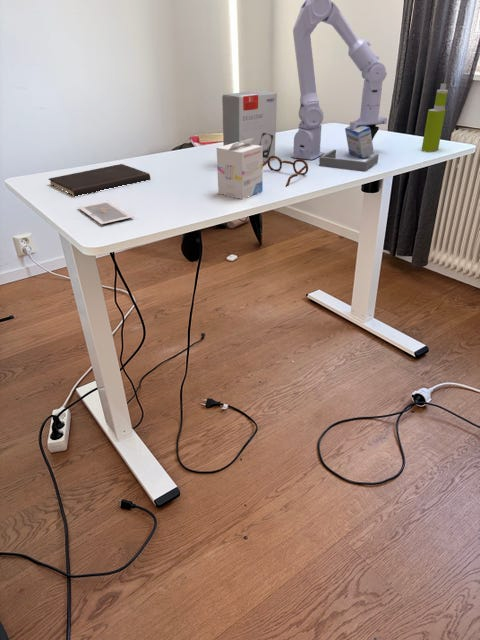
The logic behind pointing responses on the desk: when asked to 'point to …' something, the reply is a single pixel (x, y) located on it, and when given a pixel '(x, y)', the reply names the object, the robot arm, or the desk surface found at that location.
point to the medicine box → (359, 141)
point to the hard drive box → (250, 119)
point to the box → (347, 162)
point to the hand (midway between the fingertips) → (365, 149)
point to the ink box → (240, 169)
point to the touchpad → (105, 212)
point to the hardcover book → (99, 179)
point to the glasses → (288, 163)
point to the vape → (435, 122)
